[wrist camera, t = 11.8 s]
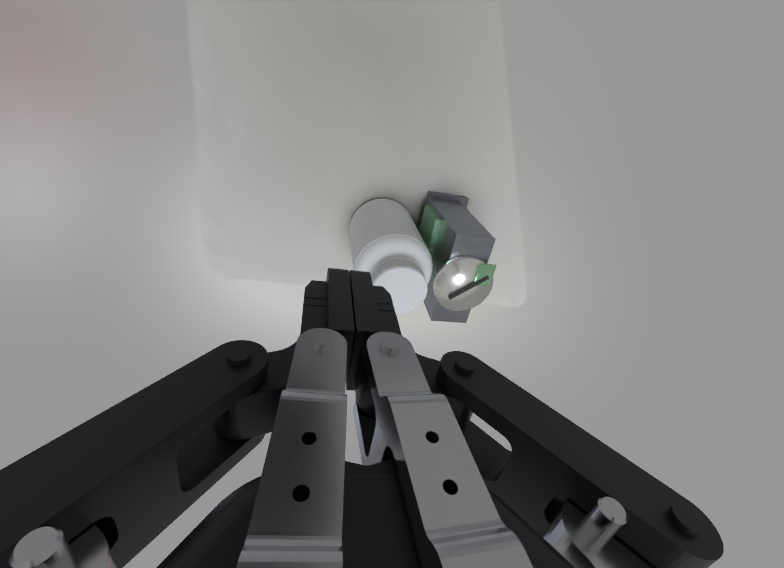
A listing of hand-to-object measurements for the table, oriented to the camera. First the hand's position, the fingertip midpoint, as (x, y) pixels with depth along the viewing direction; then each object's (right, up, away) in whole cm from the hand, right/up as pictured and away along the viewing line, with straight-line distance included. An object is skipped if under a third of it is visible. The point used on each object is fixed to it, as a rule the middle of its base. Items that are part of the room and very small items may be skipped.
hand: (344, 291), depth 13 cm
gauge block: (+7, +7, +34) cm, 35 cm away
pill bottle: (0, +7, +33) cm, 33 cm away
